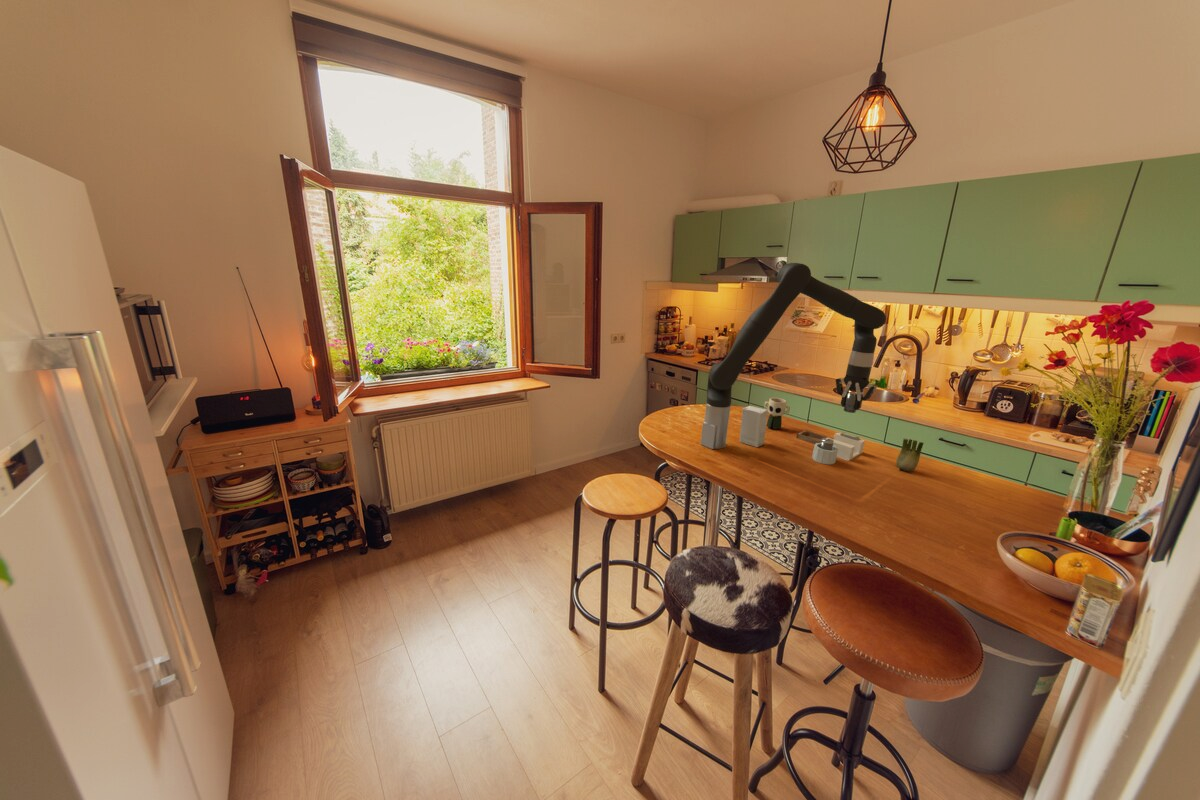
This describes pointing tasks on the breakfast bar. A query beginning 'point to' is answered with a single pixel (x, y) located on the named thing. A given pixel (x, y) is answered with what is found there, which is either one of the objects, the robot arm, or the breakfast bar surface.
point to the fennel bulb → (909, 455)
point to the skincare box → (753, 426)
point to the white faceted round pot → (824, 454)
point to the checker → (848, 445)
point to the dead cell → (826, 444)
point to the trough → (810, 437)
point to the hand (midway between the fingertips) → (850, 407)
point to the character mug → (776, 412)
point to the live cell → (850, 401)
